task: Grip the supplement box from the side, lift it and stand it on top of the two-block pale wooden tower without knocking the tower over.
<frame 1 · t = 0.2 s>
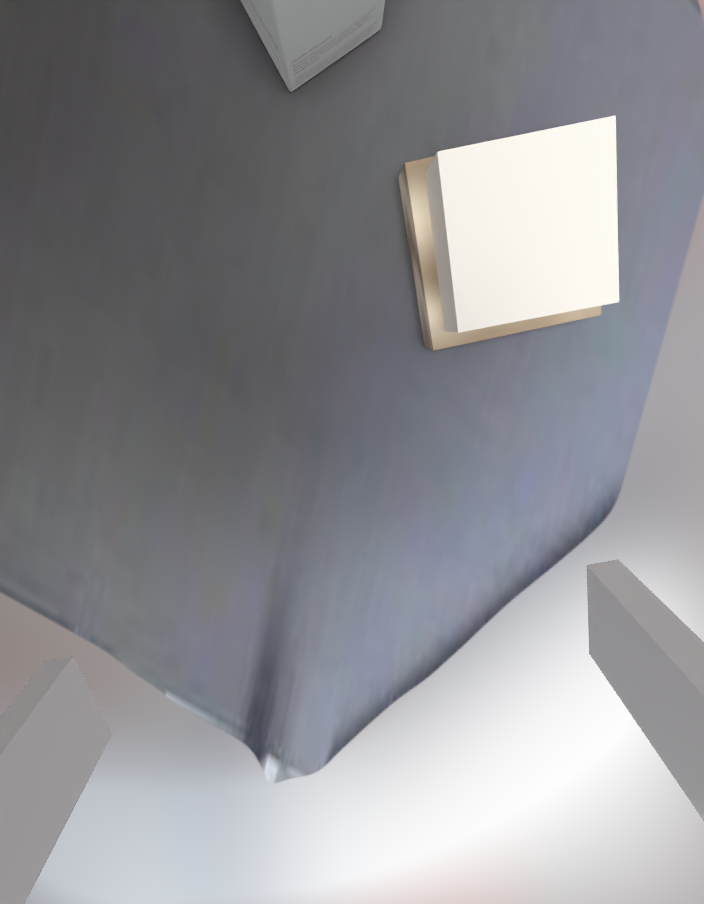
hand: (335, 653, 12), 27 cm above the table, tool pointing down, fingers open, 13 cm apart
supplement box: (307, 6, 30), on the table
tower top block: (508, 241, 31), point 3 cm above the table, touching tower base block
tower base block: (489, 250, 35), on the table, touching tower top block
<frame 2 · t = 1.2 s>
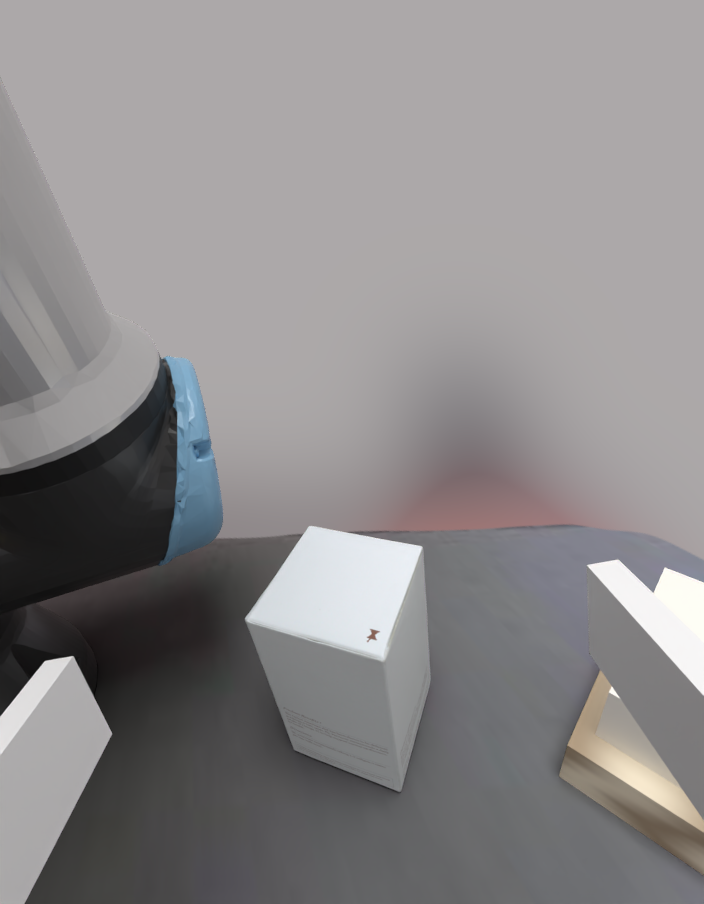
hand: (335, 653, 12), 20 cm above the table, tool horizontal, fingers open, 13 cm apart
supplement box: (364, 714, 30), on the table
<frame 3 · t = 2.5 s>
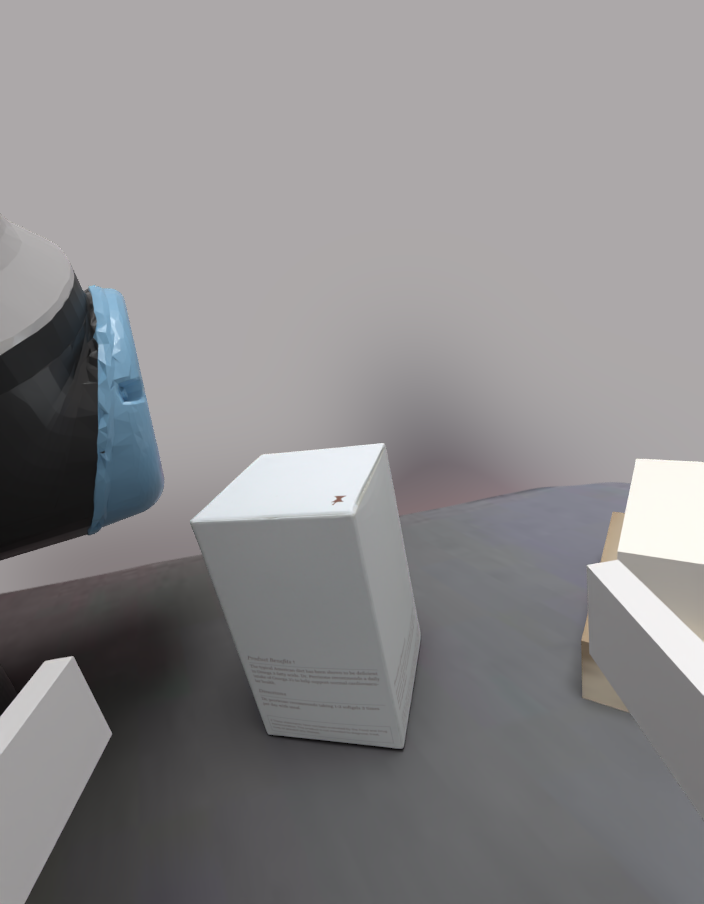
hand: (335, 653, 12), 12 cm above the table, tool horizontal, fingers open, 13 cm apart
supplement box: (350, 684, 25), on the table
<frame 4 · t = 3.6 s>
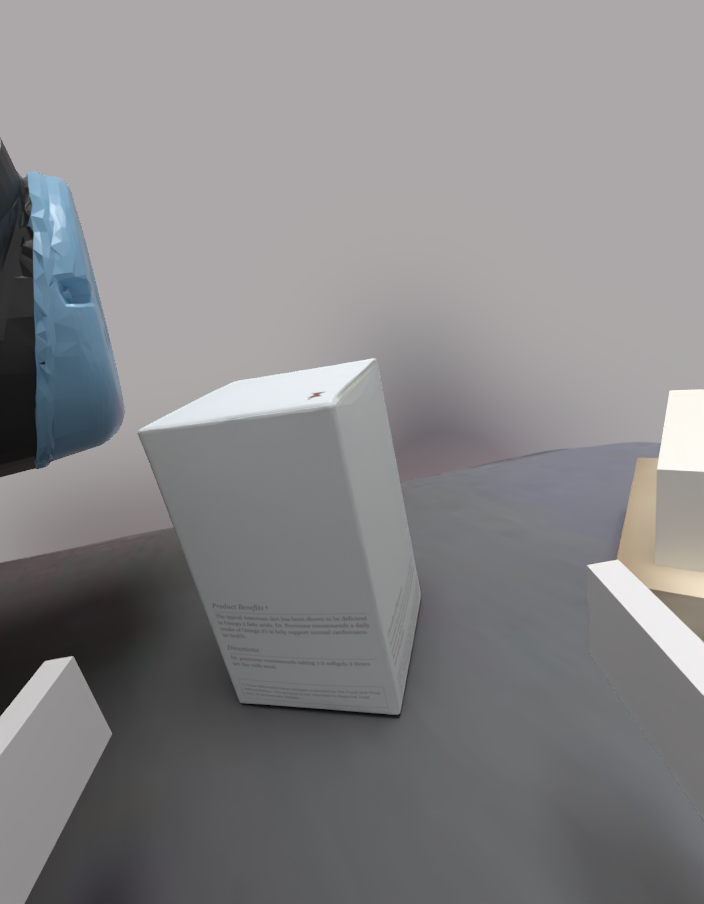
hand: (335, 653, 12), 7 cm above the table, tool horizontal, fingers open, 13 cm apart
supplement box: (338, 648, 22), on the table
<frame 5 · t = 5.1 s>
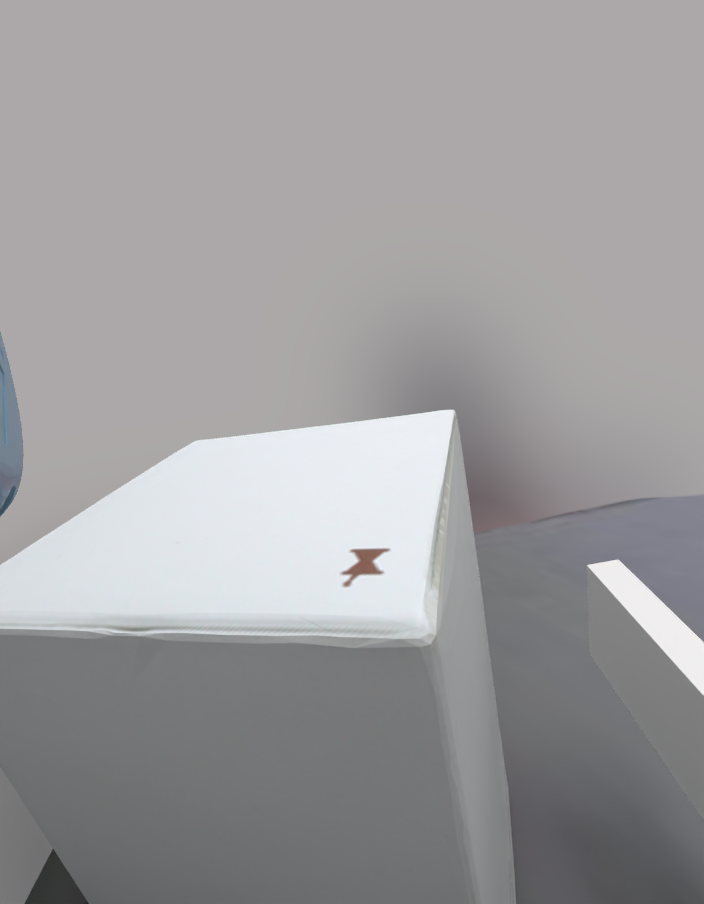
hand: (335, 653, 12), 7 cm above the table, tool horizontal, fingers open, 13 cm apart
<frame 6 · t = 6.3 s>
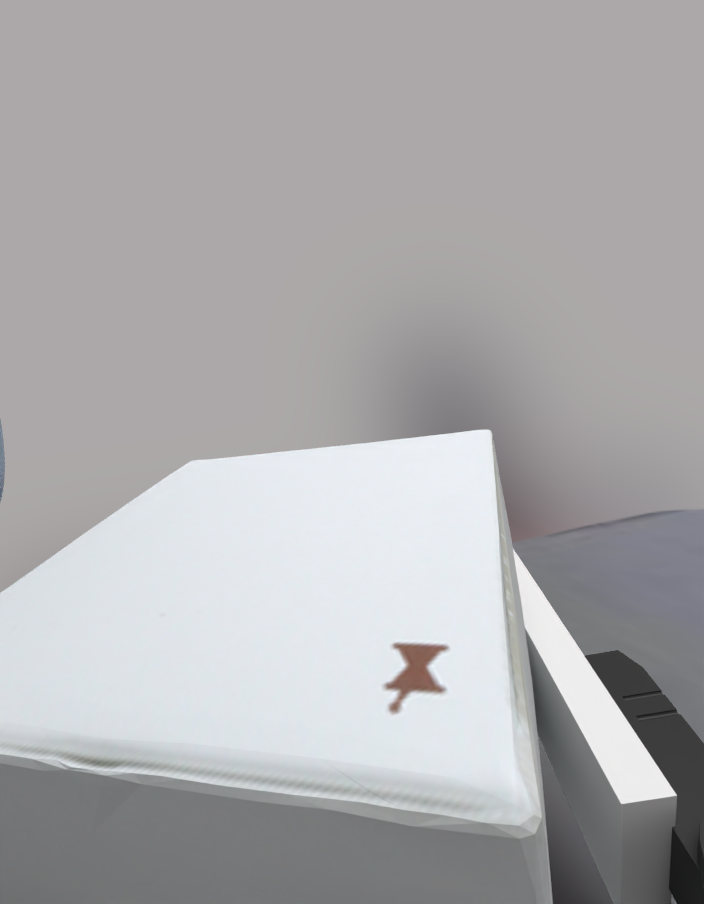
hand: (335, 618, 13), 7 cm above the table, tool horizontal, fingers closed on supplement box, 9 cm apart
when the fingers open (16 cm above the table, at t = 11.6 s): supplement box drops 2 cm, resting on tower top block.
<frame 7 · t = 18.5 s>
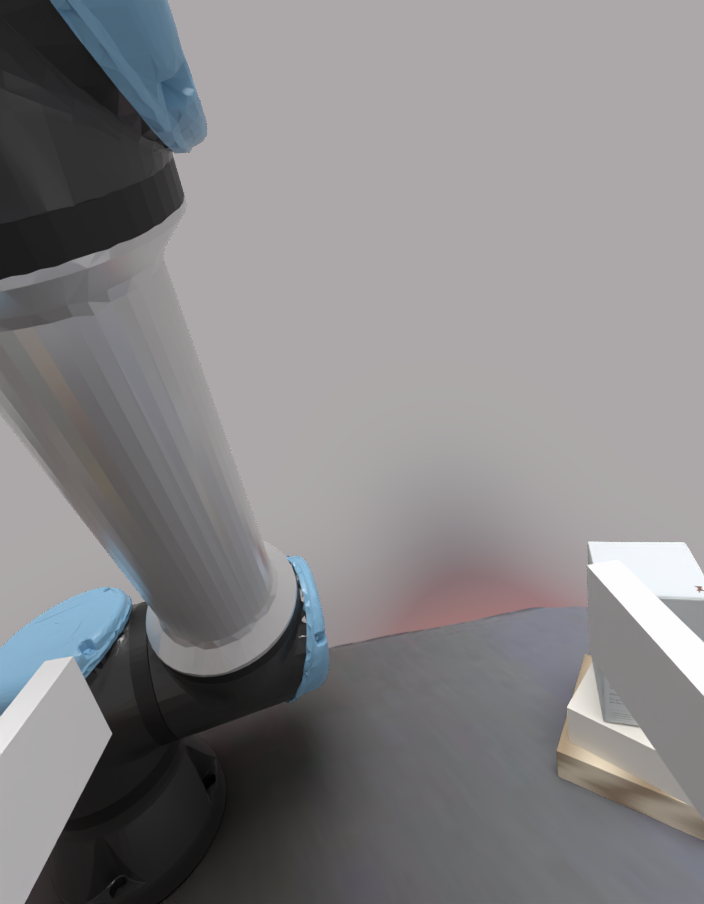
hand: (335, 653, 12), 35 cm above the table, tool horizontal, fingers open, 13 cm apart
supplement box: (642, 693, 39), point 7 cm above the table, touching tower top block
tower top block: (650, 729, 40), point 3 cm above the table, touching supplement box, tower base block
tower base block: (645, 755, 42), on the table, touching tower top block
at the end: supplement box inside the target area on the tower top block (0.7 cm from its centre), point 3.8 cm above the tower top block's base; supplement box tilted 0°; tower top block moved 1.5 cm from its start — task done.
